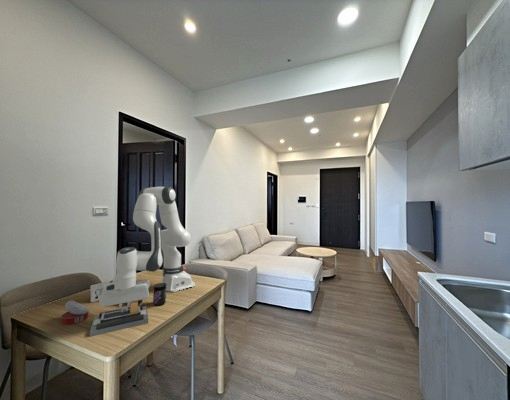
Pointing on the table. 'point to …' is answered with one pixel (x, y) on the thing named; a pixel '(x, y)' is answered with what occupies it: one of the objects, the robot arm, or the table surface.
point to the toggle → (134, 307)
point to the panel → (117, 327)
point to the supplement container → (159, 294)
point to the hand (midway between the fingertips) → (124, 311)
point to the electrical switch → (96, 291)
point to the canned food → (74, 313)
